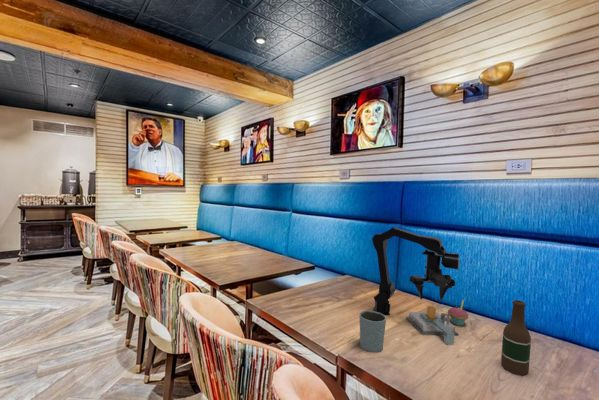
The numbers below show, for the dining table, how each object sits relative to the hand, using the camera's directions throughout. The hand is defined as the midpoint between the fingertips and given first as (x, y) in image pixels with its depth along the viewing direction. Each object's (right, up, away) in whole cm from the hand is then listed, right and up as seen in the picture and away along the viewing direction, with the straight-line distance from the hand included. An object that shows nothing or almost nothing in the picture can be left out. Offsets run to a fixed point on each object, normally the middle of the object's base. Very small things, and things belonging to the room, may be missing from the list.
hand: (431, 299), depth 131 cm
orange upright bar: (0, -12, 0) cm, 12 cm away
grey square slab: (0, -12, -4) cm, 13 cm away
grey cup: (-32, -12, -20) cm, 40 cm away
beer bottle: (+15, -14, -30) cm, 37 cm away
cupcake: (+14, -13, +5) cm, 20 cm away
